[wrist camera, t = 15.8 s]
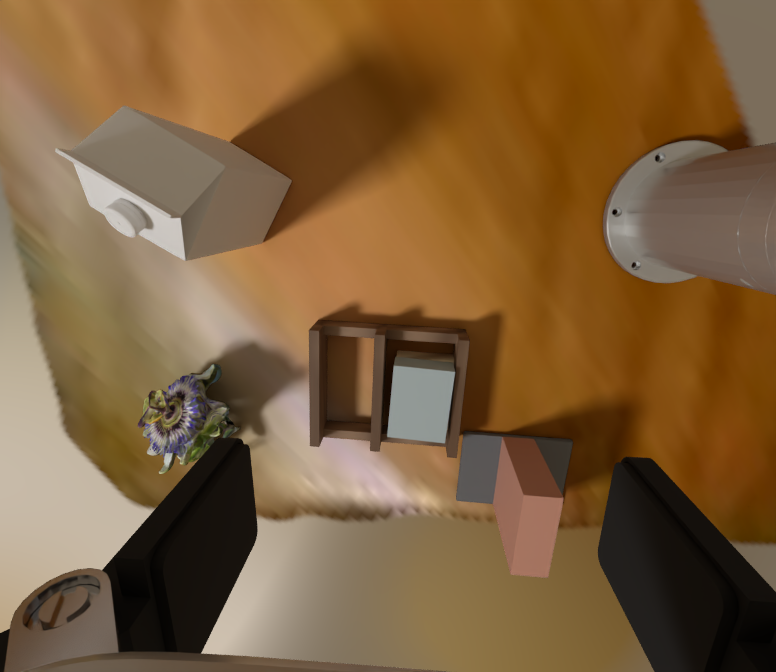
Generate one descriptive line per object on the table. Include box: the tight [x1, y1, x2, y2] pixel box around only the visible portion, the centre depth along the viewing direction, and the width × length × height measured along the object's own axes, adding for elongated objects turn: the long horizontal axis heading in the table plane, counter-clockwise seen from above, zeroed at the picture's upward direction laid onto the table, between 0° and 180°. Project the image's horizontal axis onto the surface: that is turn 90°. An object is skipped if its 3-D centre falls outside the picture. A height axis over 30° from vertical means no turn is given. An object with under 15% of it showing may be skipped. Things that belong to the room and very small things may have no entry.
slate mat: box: [456, 431, 573, 504], centre depth 48 cm, size 12×9×1 cm
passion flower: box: [138, 364, 241, 474], centre depth 46 cm, size 11×11×12 cm
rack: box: [309, 320, 470, 458], centre depth 45 cm, size 16×13×4 cm
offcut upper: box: [387, 357, 455, 443], centre depth 43 cm, size 6×8×2 cm
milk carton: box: [55, 106, 292, 261], centre depth 33 cm, size 7×7×19 cm
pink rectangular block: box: [493, 437, 564, 578], centre depth 43 cm, size 4×9×10 cm, turn 177°
